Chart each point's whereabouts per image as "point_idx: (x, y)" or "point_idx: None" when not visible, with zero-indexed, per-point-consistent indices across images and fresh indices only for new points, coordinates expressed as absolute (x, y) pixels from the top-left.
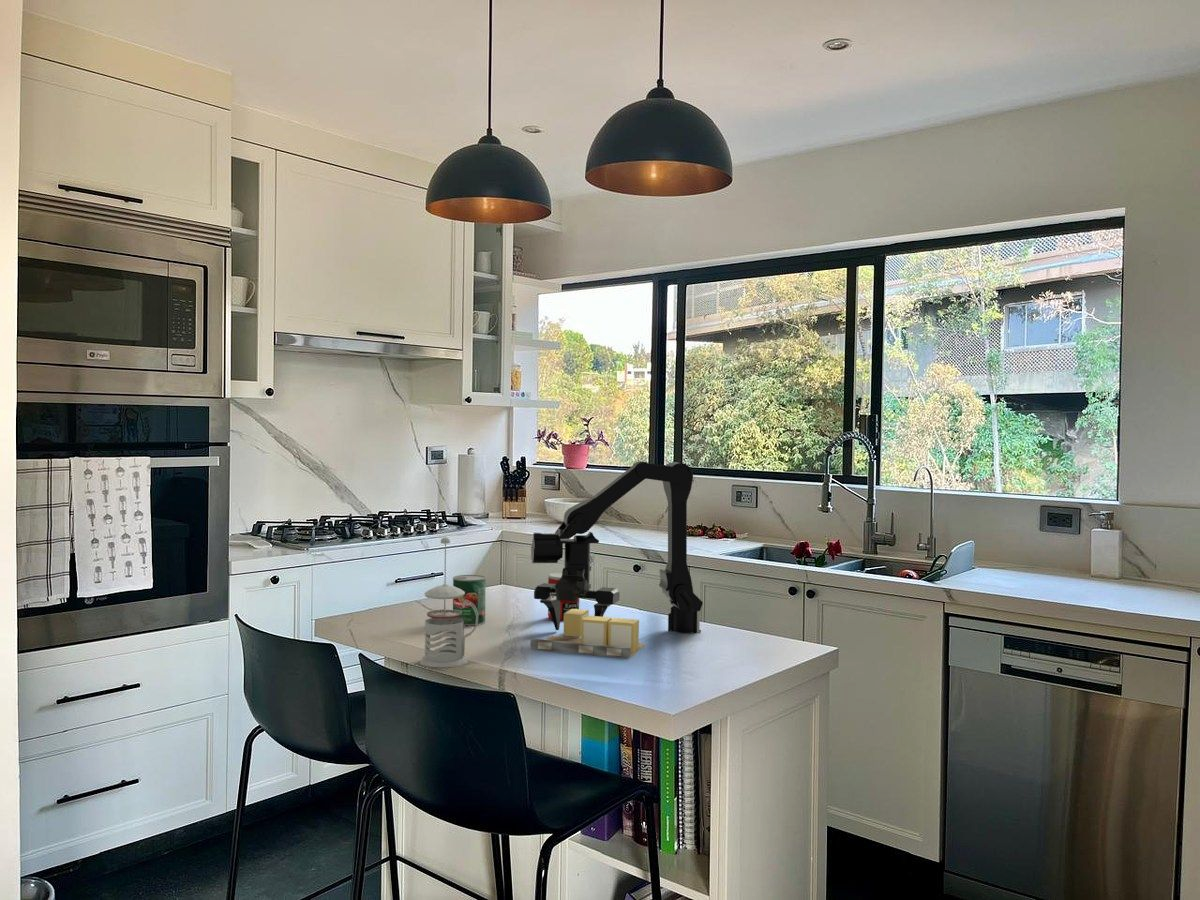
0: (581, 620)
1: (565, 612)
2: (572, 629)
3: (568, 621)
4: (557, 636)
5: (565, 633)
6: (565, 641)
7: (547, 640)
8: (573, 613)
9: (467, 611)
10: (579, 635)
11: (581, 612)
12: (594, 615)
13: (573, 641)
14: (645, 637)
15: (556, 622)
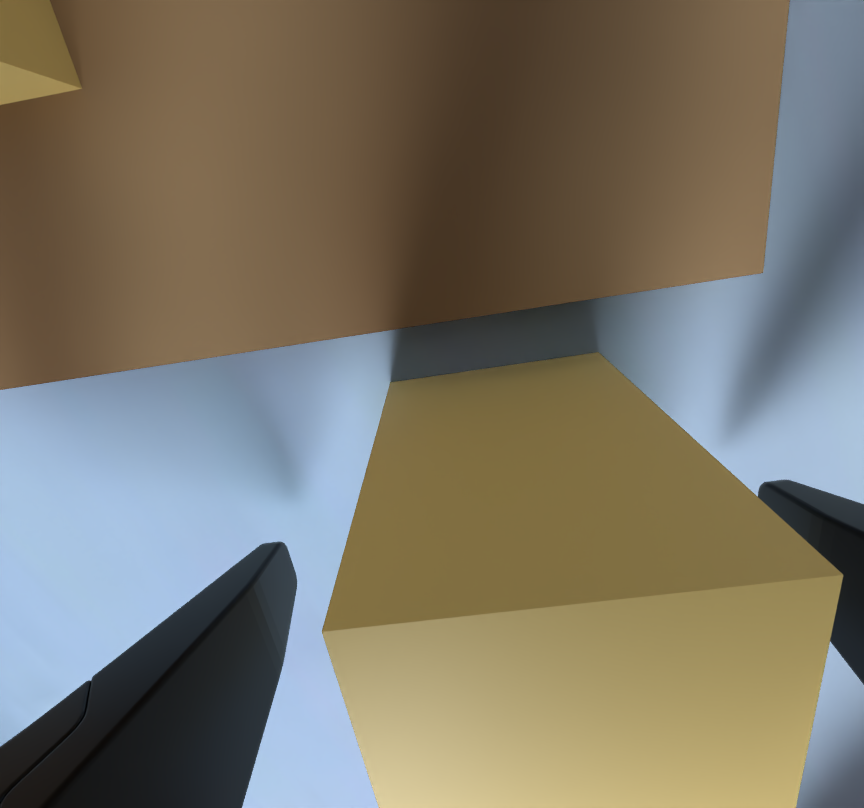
0: None
1: (821, 674)
2: (505, 424)
3: (612, 474)
4: (671, 261)
5: (598, 383)
6: (427, 10)
7: None
8: (573, 671)
9: None
10: (397, 407)
11: (445, 806)
12: (98, 749)
13: (318, 88)
14: (7, 739)
15: (857, 528)
